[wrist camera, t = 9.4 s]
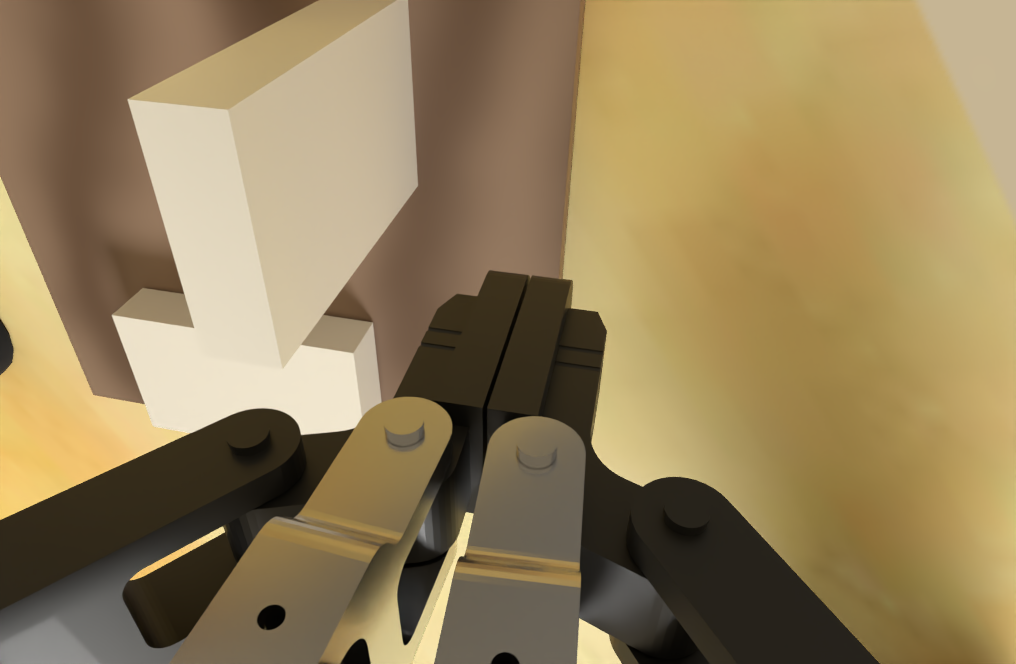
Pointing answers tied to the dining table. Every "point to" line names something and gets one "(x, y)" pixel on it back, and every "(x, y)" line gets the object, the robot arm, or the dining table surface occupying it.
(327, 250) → the tile terracotta
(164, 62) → the board
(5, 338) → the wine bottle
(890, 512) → the dining table surface
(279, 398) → the tile teal
